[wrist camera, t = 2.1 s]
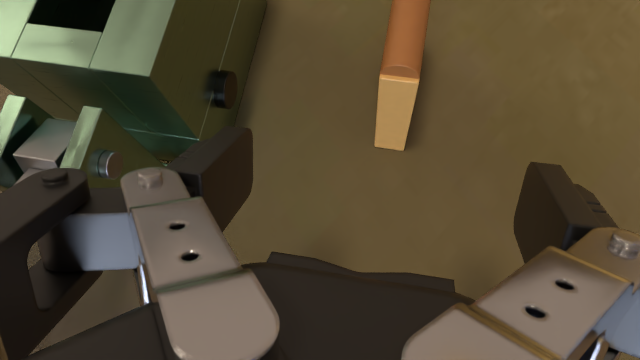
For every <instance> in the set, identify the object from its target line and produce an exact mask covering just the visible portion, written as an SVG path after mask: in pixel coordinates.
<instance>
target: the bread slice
mask: <svg viewBox="0 0 640 360" xmlns="http://www.w3.org/2000/svg"><path fill="white" fill-rule="evenodd" d="M430 2H431V0H392V6H391V12H390V18H389V24H388V29H387V35H386V41H385V47H384V53H383V59H382V64H381V70H380V76H379V88H378V102H377V116H376V130H375V144H374V146H375V147H380V148H387V149H394V150H401V151H404V147H405V143H406V138H407V134H408V129H409V125H410V121H411V116H412V112H413V107H414V103H415V98H416V94H417V89H418V85H419V79H420V72H421V65H422V58H423V51H424V44H425V37H426V30H427V23H428V16H429V9H430Z"/></svg>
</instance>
